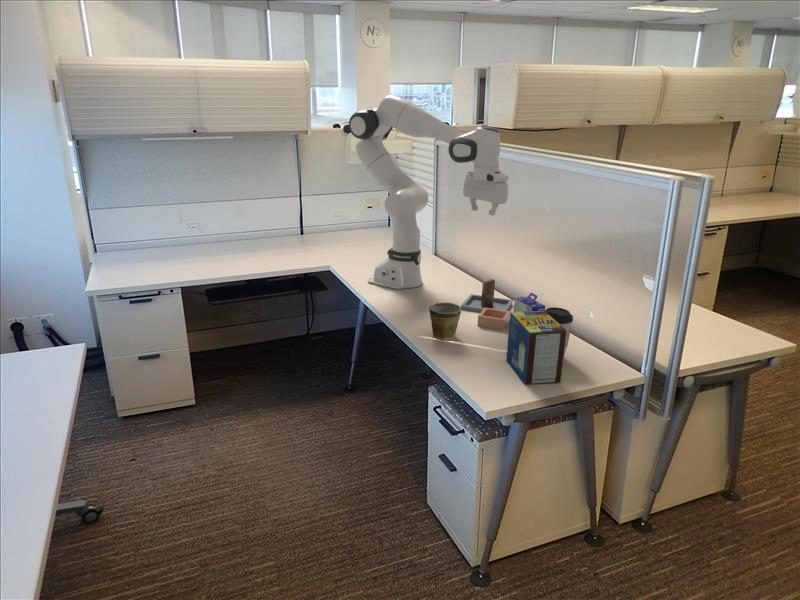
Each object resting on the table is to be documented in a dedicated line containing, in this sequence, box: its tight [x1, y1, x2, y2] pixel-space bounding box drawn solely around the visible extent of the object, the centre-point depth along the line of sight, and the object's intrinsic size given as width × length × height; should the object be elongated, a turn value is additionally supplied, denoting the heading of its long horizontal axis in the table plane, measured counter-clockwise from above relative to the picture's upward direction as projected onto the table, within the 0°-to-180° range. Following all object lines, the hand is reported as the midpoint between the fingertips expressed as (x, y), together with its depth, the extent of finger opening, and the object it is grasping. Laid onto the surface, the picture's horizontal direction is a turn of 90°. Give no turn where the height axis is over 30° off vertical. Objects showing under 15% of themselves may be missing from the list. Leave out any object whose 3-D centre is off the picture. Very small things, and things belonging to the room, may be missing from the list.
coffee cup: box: [545, 306, 574, 361], centre depth 167 cm, size 9×9×15 cm
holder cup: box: [477, 308, 511, 331], centre depth 193 cm, size 9×9×4 cm
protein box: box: [505, 310, 567, 386], centre depth 158 cm, size 10×15×16 cm
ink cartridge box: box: [512, 292, 546, 312], centre depth 181 cm, size 10×6×14 cm, turn 24°
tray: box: [460, 293, 514, 314], centre depth 208 cm, size 16×14×2 cm
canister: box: [481, 278, 496, 308], centre depth 207 cm, size 4×4×10 cm
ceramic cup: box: [428, 302, 462, 342], centre depth 182 cm, size 13×10×10 cm
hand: (483, 212), depth 207 cm, fingers open, 8 cm apart
